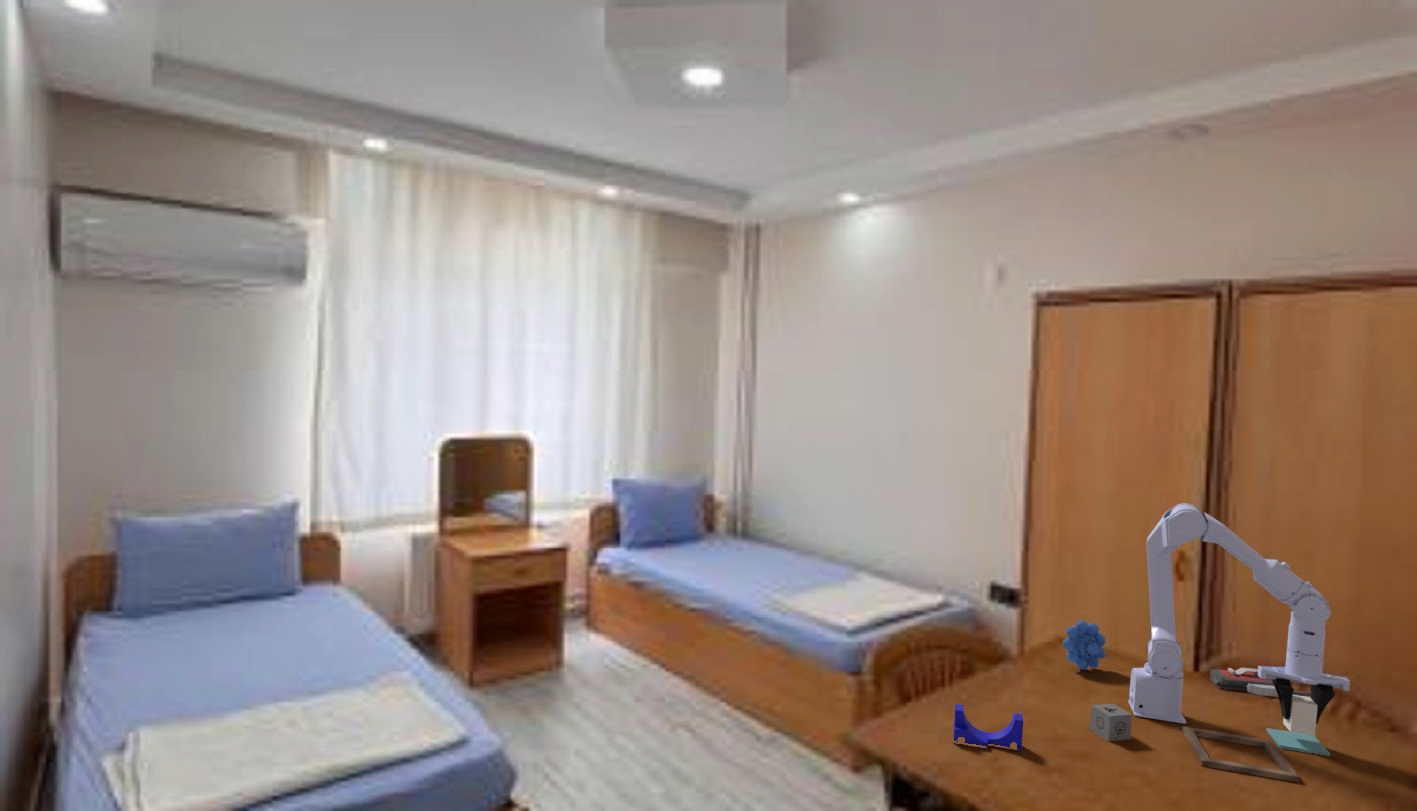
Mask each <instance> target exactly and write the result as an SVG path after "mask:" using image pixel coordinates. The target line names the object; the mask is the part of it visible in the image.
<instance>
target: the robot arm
mask: <svg viewBox="0 0 1417 811" xmlns="http://www.w3.org/2000/svg"><path fill="white" fill-rule="evenodd" d="M1199 538H1201V540H1202V542H1205V543H1212V544H1217V545H1219V546H1221V548H1223V549H1224V550H1226V551H1227V552H1228V553H1229V554H1231V555H1232V556H1234V557H1235V558H1236V559H1238V560H1239V561H1240V562H1241V563H1243V564H1244V565H1245V566H1247V567H1248V568H1249V569H1251V571H1252V578H1253V580H1254V581H1255V582H1256V583H1257V584H1258V585H1260V586H1261V587H1262V588H1263V589H1264V590H1266V591H1267V592H1268V593H1270V594H1271V595H1272V596H1274V597H1275V599H1277V600H1278V601H1279V602H1281V603H1283V604H1284V605H1288V607H1289V608H1290V609H1291V611H1290V622H1289V624H1288V632H1287V645H1286V656H1285V657H1286V658H1285V659H1286V660H1285V666H1266V665H1265V666H1264V665H1263V666H1262V665H1258V666H1257V669H1258V676H1259V677H1260V678H1261V679H1267V678H1268V679H1271V680H1272V682H1273V684H1274V687H1275V689H1276V692H1277V694H1278V697H1277V698H1278V700H1279V701H1278V702H1279V704H1280V709H1281V716H1282V717H1283V719H1284V718H1285V719H1288V720H1289V719H1290V712H1291V700H1292V695H1293V692H1294V691H1295V689H1294V687H1292V683H1299V684H1304V685H1309V686H1310V692H1311V696H1310V698H1311V699H1312V700H1313V701H1314V702H1315V703H1316V704H1317V705H1318V706H1317V718H1316V725H1318V724H1319V721H1320V717H1321V716H1322V713H1323V712H1324V709H1325V708H1326V707H1327V705H1328V704H1329V703H1330V702H1331V700H1332V699H1334V698H1335V695H1336V691H1335V690H1334V689H1340V690H1342V691H1347V692H1349V691H1350V689H1351V688H1350V686H1351V681H1350V680H1349V678H1347V677H1343V676H1338V675H1334V674H1333V675H1332V674H1329V673H1323V664H1324V654H1325V642H1326V630H1325V629H1326V624H1327V623H1326V621H1327V620H1328V619H1329V618H1330V616H1331V614H1332V611H1331V610H1330V609H1331V607H1330V605H1329V602H1328V601H1327V599H1326V598H1325V597H1324V596H1323V595H1322V594H1321V592H1319V591H1318V589H1317V588H1315V587H1313V584H1312V583H1311V582H1309V581H1307V580H1306V581H1304V579H1302V578H1301V577H1299V576H1298V575H1297V574H1295V573H1294V572H1293V571H1292V570H1290V569H1291V566H1290V565H1289V564H1288V563H1287V562H1286V561H1283V562H1281V561H1279V560H1277V559H1270V558H1269V559H1267V558H1264V557H1263V556H1261V555H1260V553H1258V552H1257V551H1256V550H1254V548H1252V547H1251V546H1250V545H1249V544H1248V543H1247V542H1246V541H1244V540H1243V539H1242V538H1240V536H1238V535H1237V534H1236V533H1234V532H1233V531H1232V530H1231V529H1230V528H1229V527H1227V526H1226V525H1225V524H1224V523H1222V522H1220V521H1219V520H1217V519H1216V518H1215V517H1213V516H1212V515H1210V514H1208V513H1206V512H1204V514H1203V512H1202V511H1201V509H1200V508H1199V507H1198V506H1196V505H1195V504H1192V503H1187V502H1182V503H1179V504H1176V505H1174V506H1173V507H1171V508H1169V509H1168V510H1167V511H1165V512H1164V514H1163V515H1162V516H1161V519H1159V521H1158V523H1157V524H1156V525H1155V527H1154V528H1153V529H1152V531H1151V532H1150V534H1149V535H1148V536H1147V538H1146V556H1147V561H1146V562H1147V573H1148V576H1147V577H1148V593H1149V609H1150V611H1149V612H1150V625H1151V626H1150V627H1151V628H1150V630H1151V632H1150V633H1151V638H1150V639H1149V641H1148V644H1147V651H1148V654H1147V662H1145V663H1144V664H1143V665H1144V666H1143V667H1132V669H1131V672H1130V683H1129V694H1128V696H1129V697H1128V701H1127V702H1128V704H1129V706H1130V708H1131V712H1133V715H1134V716H1135V717H1140V718H1146V719H1147V718H1148V719H1153V720H1158V721H1165V722H1170V723H1177V724H1184V725H1186V724H1187V720H1186V718H1185V717H1184V715H1183V714H1182V701H1183V700H1182V699H1183V687H1184V671H1183V667H1184V660H1183V657H1182V653H1183V652H1182V649H1183V648H1182V646H1181V644H1180V642H1179V641H1178V639H1177V631H1176V616H1175V615H1176V612H1175V599H1174V579H1173V563H1172V561H1173V560H1172V553H1173V552H1174V551H1176V550H1177V549H1178V548H1179V547H1181V546H1182V545H1183V544H1186V543H1189V542H1191V541H1195V540H1196V539H1199Z"/></svg>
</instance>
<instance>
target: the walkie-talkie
mask: <svg viewBox="0 0 1417 811" xmlns="http://www.w3.org/2000/svg"><path fill="white" fill-rule="evenodd" d="M1209 672H1210V675H1209V680H1210V681H1212V683H1214V684H1215V685H1216V686H1217V687H1219V688H1220V689H1224V690H1228V691H1229V690H1230V691H1238V692H1239V691H1241V692H1247V693H1248V694H1249V693H1250V694H1253V695H1257V696H1261V697H1262V696H1263V697H1275V698H1279V697H1278V694H1277V692H1276V689H1275V687H1274V684H1273V682H1272V680H1271V679H1268V678H1267V679H1261V678H1260V677H1259V676H1258V668H1252V667H1251V668H1250V667H1249V668H1248V667H1240V668H1237V669H1235V670H1234V669H1233V668H1231V667H1227V669H1226V670H1225V669H1215V668H1212V669H1210V671H1209ZM1293 695H1298V696H1305V697H1311V691H1309V692H1308V691H1301V690H1300V691H1297V690H1294V692H1293Z"/></svg>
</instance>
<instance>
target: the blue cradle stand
mask: <svg viewBox="0 0 1417 811" xmlns="http://www.w3.org/2000/svg"><path fill="white" fill-rule="evenodd" d="M964 710H965V709H964V704H960V703H959V704H958V703H955V704H954V718H953V719H954V720H953V733H954V741H957V739H958V737H964V738H965V743H968V744H976V745H982V746H986V747H987V748H988V747H989V746H988V744H994V745H1000V746H1005V747H1009V748H1010V744H1011V743H1016V744H1017V749H1018V750H1021V751H1022V747H1023V734H1024V733H1023V732H1024V718H1023V716H1024V715H1023V714H1022V713H1018V712H1017V713H1016V712H1013V715H1012V718H1011V721H1010V722H1009V724H1008V725H1006V727H1004V728H1003V729H1002V730H999V731H994V732H990V731H989V732H987V731H983V730H981V729H978V728H976V726H974V725H972V723H971V722H970V721H969V720H968V718H967V716H966V714H965V711H964ZM957 742H958V741H957Z"/></svg>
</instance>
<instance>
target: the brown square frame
mask: <svg viewBox="0 0 1417 811" xmlns="http://www.w3.org/2000/svg"><path fill="white" fill-rule="evenodd" d="M1182 733H1183V735H1184V736H1185V737H1184V738H1186V741H1188V743H1189V746H1190V747H1191V749H1192V751H1193V753H1194V754H1195V756H1196V758H1197V759H1198V762H1199V763H1200V765H1201V766H1202V767H1208V768H1213V769H1218V770H1224V771H1230V772H1236V773H1243V774H1246V775H1247V774H1248V775H1253V776H1260V777H1265V778H1270V779H1276V780H1282V781H1286V782H1293V783H1298V784H1299V783H1300V780H1301V778H1300V776H1299V774H1298V773H1297V772H1296V770H1295V769H1294V768H1293V767H1292V766H1291V764H1290V763H1289V761H1288V760H1287V759H1286V758H1285V757H1284V755H1283V754H1282V753H1281V752H1280V750H1279V748H1277V746H1276V745H1275V744H1274V743H1273V741H1272V740H1270V739H1264V738H1263V739H1262V738H1257V737H1252V736H1251V737H1250V736H1246V735H1239V734H1232V733H1227V732H1220V731H1216V730H1215V731H1214V730H1208V729H1202V728H1196V727H1189V726H1182ZM1198 737H1199V738H1205V739H1211V740H1216V741H1223V742H1230V743H1234V744H1239V745H1246V746H1247V745H1248V746H1253V747H1258V748H1259V747H1260V748H1264V750H1265V751H1266V753H1267V754H1268V755H1269V756H1270V758H1271V759H1272V760H1273V761H1274V763H1275V764H1276V766H1277V767H1278V768H1279V769H1274V768H1268V767H1264V766H1259V765H1258V766H1257V765H1252V764H1245V763H1239V762H1234V761H1230V760H1229V761H1228V760H1223V759H1218V758H1217V759H1216V758H1212V757H1209V755H1208V753H1207V751H1206V750H1205V748H1204V746H1203V745H1202V743H1201V742H1200V739H1199V738H1198Z"/></svg>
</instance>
